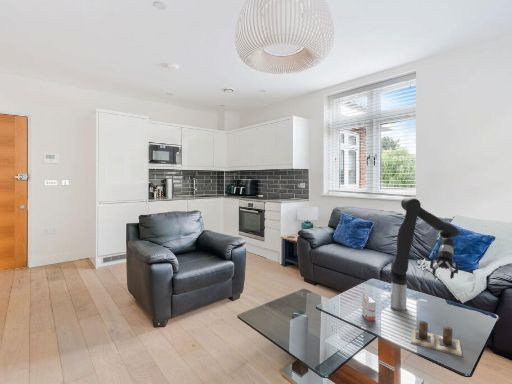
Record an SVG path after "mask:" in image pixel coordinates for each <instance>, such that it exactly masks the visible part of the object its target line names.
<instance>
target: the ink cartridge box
mask: <svg viewBox="0 0 512 384" xmlns="http://www.w3.org/2000/svg"><path fill="white" fill-rule="evenodd" d="M376 304H377V302H376V301H375V300H373V298H371V296H368V295H366V293H365V292H362V301H361V306H362V307H361V315H362V316H363V317H364V318H365V319H366V320H367V321H368V322H370V321H371V322H372V321H376Z"/></svg>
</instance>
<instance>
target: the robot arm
mask: <svg viewBox="0 0 512 384" xmlns="http://www.w3.org/2000/svg"><path fill="white" fill-rule="evenodd" d="M421 204H422V203H421V202H420V200H419V199H417V198H415V197H404V198H403V199H402V200H401V202H400V205H401V208H402V209H404V211H405V217H404V220H403V221H402V223H401V224H400V226H399V229H398V232H397V236H396V255H395V258H393V260H392V261H391V264H390V265H391V266H390V268H391V269H390V273H391V274H390V276H391V277H390V278H391V284H390V286H391V289H390V290H391V293H390V308H392V309H394V310H397V311H406V310H407V289H408V287H407V285H408V279H407V272H408V270H409V258H410V253H411V250H412V249H411V248H412V245H413V241H414V236H415V230H416V227H417V226H416V224H417V221H418V218H419V219H420V220H422V221H423V222H424V223H426V224H427V225H428V226H430V227H431V228H433V230H435V231H438V232H439V238H440V246H439V249H438V256H437V259H434V258H432V259H431V260H430V264H429V267H430V269H431V270H432V272H431V273H432V275H433V277H434V276H436V272H437V270H439V269H445V270H449V271H450V276H449V278H450V279H449V280H452V279H454V277H455V274H459V263H458V262H453V260H454V247H455V241H454V240H453V238H456V237H459V234H460V232H459V229H458V228H457V227H456V226H454V225H452V224H450V223H447V222H445V221H443V220H441V219H440V218H439V217H437V216H436V215H434V214H433V213H431V212H429V211H428V210H426V209H424V208H423V207H421V206H422V205H421ZM434 264H435V265H434ZM452 266H453V267H455V269H454V268H453V267H452Z"/></svg>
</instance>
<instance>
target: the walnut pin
mask: <svg viewBox="0 0 512 384" xmlns="http://www.w3.org/2000/svg"><path fill="white" fill-rule="evenodd" d="M442 336H443V343H444V344H446V345H452V339H453V328H452V327H450V326H445V325H444V326H442Z"/></svg>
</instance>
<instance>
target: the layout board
mask: <svg viewBox="0 0 512 384" xmlns="http://www.w3.org/2000/svg"><path fill="white" fill-rule="evenodd" d="M410 335H411V337H410V344H414V345H418V346H422V347H425V348H429V349H432V350H436V351H440V352H443V353H447V354H451V355H454V356H459V357H463V354H462V353H463V352H462V347H461V342H460V339H455V338H452V345H446V344H444V343H443V335H439V334H435V333H430V332H428V334H427V339H422V338H420V337H419V329H415V328H411V334H410Z"/></svg>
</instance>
